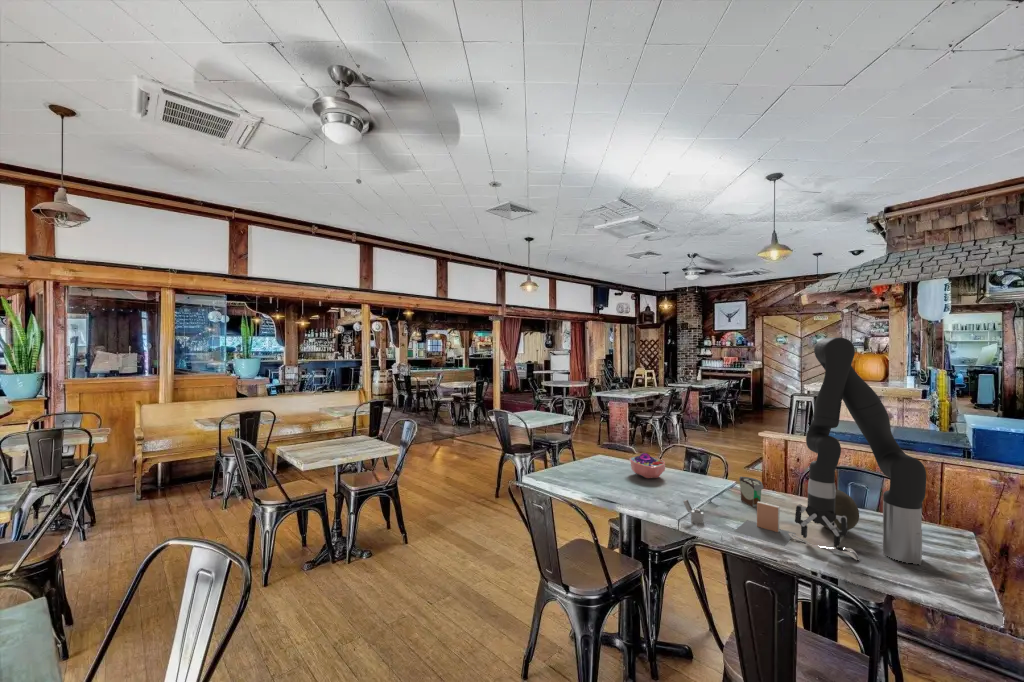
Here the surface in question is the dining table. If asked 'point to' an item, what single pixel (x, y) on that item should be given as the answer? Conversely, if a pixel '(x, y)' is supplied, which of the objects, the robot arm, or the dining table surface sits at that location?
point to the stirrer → (842, 549)
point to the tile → (768, 516)
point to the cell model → (647, 466)
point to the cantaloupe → (845, 510)
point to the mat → (764, 533)
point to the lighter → (694, 513)
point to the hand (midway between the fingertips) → (820, 541)
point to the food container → (750, 490)
